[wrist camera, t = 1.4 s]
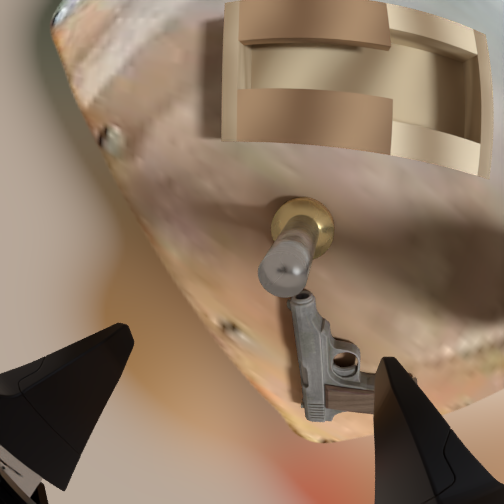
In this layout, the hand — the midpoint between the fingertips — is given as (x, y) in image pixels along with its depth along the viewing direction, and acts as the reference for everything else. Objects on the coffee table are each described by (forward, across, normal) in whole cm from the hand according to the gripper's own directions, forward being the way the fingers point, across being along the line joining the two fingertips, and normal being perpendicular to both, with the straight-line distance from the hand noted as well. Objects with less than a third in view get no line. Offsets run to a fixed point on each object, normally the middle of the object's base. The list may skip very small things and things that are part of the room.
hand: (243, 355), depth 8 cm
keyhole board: (+13, -5, -11) cm, 17 cm away
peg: (+13, -1, 0) cm, 13 cm away
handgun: (+13, -8, +12) cm, 19 cm away
